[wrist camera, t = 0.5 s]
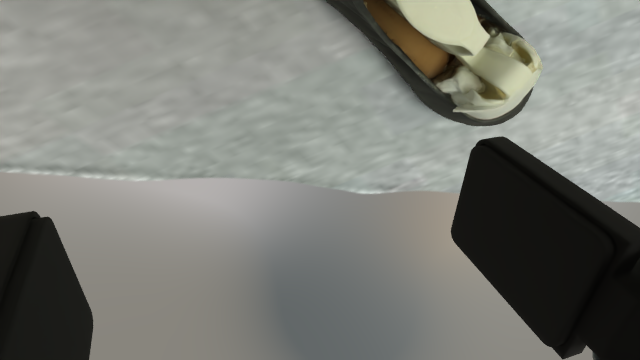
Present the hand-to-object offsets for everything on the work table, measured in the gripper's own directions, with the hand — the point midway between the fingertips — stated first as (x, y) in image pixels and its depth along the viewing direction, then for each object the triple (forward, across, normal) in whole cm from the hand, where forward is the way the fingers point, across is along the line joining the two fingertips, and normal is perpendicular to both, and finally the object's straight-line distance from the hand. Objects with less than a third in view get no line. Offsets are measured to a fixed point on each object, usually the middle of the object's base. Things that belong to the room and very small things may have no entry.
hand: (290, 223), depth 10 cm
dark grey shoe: (+29, -22, +4) cm, 37 cm away
